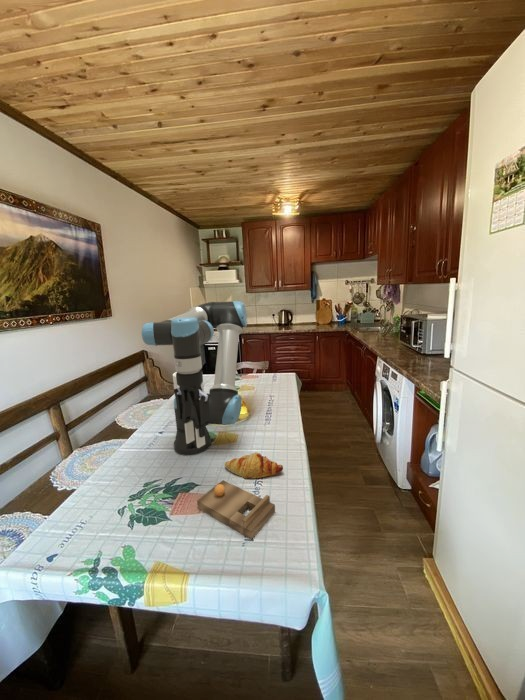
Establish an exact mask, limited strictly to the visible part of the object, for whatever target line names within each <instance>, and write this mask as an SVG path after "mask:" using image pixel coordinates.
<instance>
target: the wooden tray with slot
mask: <svg viewBox="0 0 525 700" xmlns="http://www.w3.org/2000/svg"><path fill="white" fill-rule="evenodd" d="M218 484H222V485H223V486H224V487H225V493H224V494H223V495H222V496H217V495H216V494H215V492H214V489H215V487H216V486H217V485H218ZM218 484H216V485H215V486H214V487H212V488H211V489H210V490H209V491H207V492H206V493H205V494H203V495H202V496H201V497H200V498H199V499H197V500H196V501H197V502H196V503H197V504H196V505H197V509H199V510H200V511H201V512H203V513H206V514H207V515H209V516H210V517H212V518H214V519H216V520H217V521H219V522H221V524H224V525H226V526H228V527H229V528H231V529H232V530H234V531H236V532H238V533H240V534H242V535H243V536H245V537H246V538H248V539H249V540H252V539H254V537H255V536H256V535H257V534H258V533H259V531H260V530H261V529H262V528H263V527H264V526H265V524H266V523H267V522H268V521H269V520H270V519H271V517H272V516H273V515H274V514H275V513H276V508H275V507H276V505H275V503H272V502H271V501H270V500H271V499H270V495H269V494H266V495H265V496H264V497H263V498H262V497H259V496H257V495H256V494H254V493H251V492H249V491H247V490H245V489H243V488H241V487H238V486H236V485H234V484H232V483H230V482H227V481H225V480H222V481H220V482H219V483H218ZM248 510H250V511H249V512H248V513H247V514H246V515H245V514H244V513H246V512H247V511H248Z"/></svg>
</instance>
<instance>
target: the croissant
mask: <svg viewBox="0 0 525 700" xmlns="http://www.w3.org/2000/svg"><path fill="white" fill-rule="evenodd" d="M224 467H225V468H226V469H227V470H229V471H230V472H231V473H233V474H235V475H237V476H240V477H242V478H244V479H248V478H249V479H250V478H251V479H260V478H265V477H270V476H271V477H272V476H275V475H278V474H279V473H281V472H283V470H284V466H283V465H282V464H278V463H277V462H275V461H272V460H270V459H269V458H268V457H267V456H262V454H261V453H260V452H257V451H256V452H254V453H251V454H246V455H242V456H241V457H237V458H233V459H231V460H227V461H225V462H224Z"/></svg>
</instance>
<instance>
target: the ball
mask: <svg viewBox="0 0 525 700" xmlns="http://www.w3.org/2000/svg"><path fill="white" fill-rule="evenodd" d="M216 485H217V486H216ZM216 485H215V486H216V487H215V486H214V487H215V489H214V492H215V494H216V495H217V496H222V495H223V494H224V493H225V487H224V486H223V485H222V484H219V483H218V484H216Z"/></svg>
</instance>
